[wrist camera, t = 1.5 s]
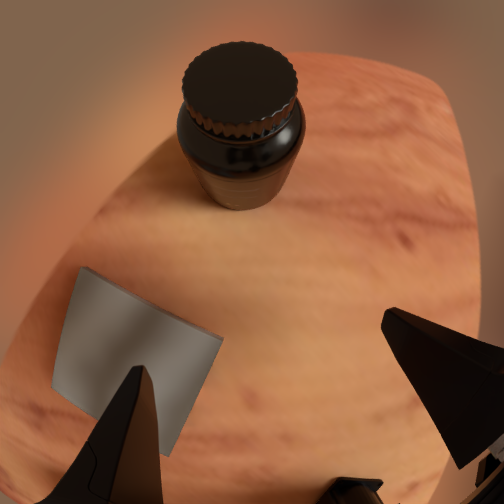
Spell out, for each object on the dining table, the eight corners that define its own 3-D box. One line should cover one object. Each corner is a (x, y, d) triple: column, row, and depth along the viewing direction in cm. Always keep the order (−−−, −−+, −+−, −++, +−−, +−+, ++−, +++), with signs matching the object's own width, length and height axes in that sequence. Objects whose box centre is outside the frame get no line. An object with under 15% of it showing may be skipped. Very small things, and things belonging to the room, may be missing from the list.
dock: (225, 332, 21) (222, 341, 18) (174, 441, 20) (168, 457, 17) (96, 266, 20) (80, 266, 18) (64, 379, 20) (51, 387, 17)
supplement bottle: (214, 125, 22) (194, 19, 10) (293, 145, 22) (334, 46, 10) (188, 200, 21) (131, 129, 9) (273, 223, 21) (309, 169, 9)
